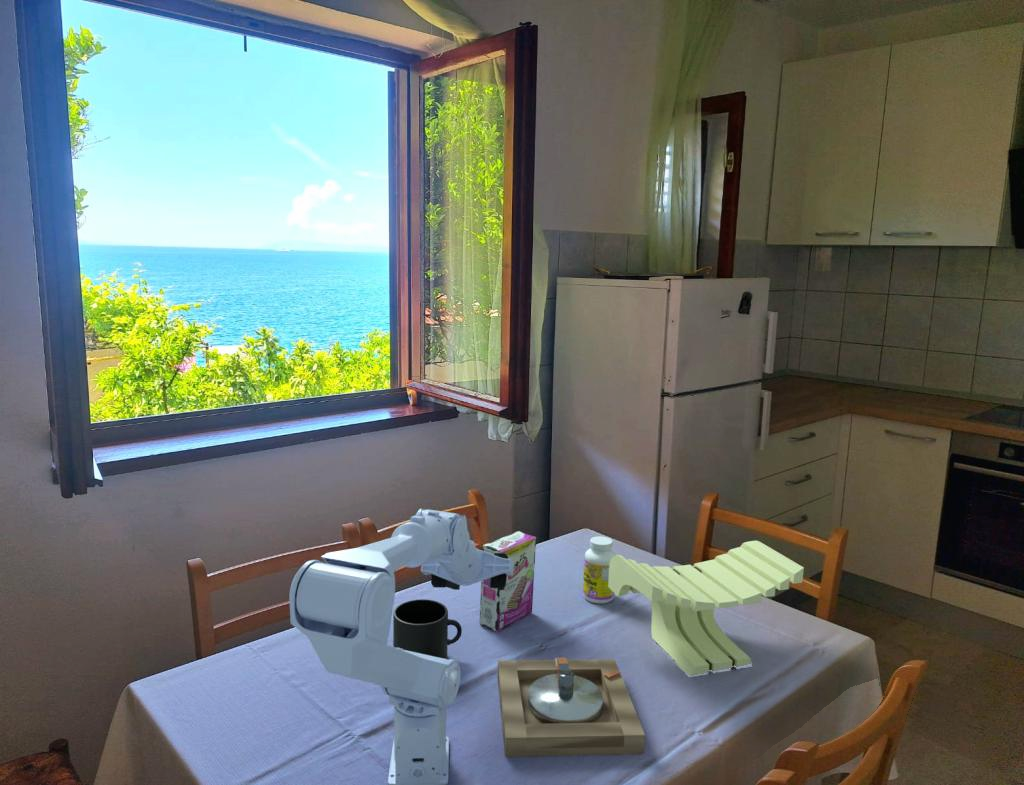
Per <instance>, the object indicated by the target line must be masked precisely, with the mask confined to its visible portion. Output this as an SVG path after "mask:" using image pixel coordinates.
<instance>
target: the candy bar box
mask: <svg viewBox="0 0 1024 785" xmlns="http://www.w3.org/2000/svg"><path fill="white" fill-rule="evenodd" d="M536 547H537V537H536V536H533V535H531V534H528V533H525V532H522V531H520V530H519V531H515V532H513V533H511V534H508V535H506V536H503V537H501V538H500V537H499V538H498V539H496V540H493V541H490V542H488V543H485V544H483V545H482V551H485V552H487V553H490V554H493V555H494V553H505V554H506V555H507V556H508V559H511V560H512V561H513V563H514V568H513V575H507V580H506V586H505V589H504V590H498V589H497V588H490V581H491V578H488V579H486V580H483V581H480V582H481V584H480V606H479V607H480V608H479V624H480V625H481V626H482V627H484V628H487V629H489V630H491V631H493V632H495V633H499V632H501V631H502V630H504V629H505V628H508V627H509V626H511V625H513V624H515V623H516V622H518V621H519V620H522V619H524V618H525V617H527V616H528V615H530V614H532V613H533V602H534V601H533V600H534V581H535V568H536V566H535V565H536V549H537V548H536Z"/></svg>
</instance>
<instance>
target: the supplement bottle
mask: <svg viewBox="0 0 1024 785" xmlns="http://www.w3.org/2000/svg"><path fill="white" fill-rule="evenodd" d="M613 542H614V541H613V539H612V538H610V537H607V536H593V537H591V538H590V540H589V546H590V548H589V549H587V550H586V551H585V553H584V564H583V566H584V567H583V581H582V596H583V598H584V599H585V600H587V601H588V602H590V603H593V604H599V605H600V604H602V605H603V604H607V603H610V602H612V601H613V600H614V598H615V593H614V592H613V591H612V590H611V589H610V588H609V587H608V579H609V565H610V561H611V558H612V557H613V556H614V555H617V554H616V553H615V552H614V551H613V550H612V549H613V547H614V546H613V545H614V544H613Z"/></svg>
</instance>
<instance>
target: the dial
mask: <svg viewBox="0 0 1024 785" xmlns="http://www.w3.org/2000/svg"><path fill="white" fill-rule="evenodd" d="M556 658H557V674H552V675H547V676H544V677H541V678H539V679H537V680H536V681H535V682H533V683H532V685H531V686H530V688H529V692H528V706H529V709H530V711H531V712H532V713H533V715H534V716H536V717H537V718H538V719H540V720H541V721H543V722H545V723H547V724H553V723H592V722H594V721H595V720H596V719H598V718H599V716H600V715H601V713H602V706H603V696H602V693H601V691H600V689H599V688H598V687H597V686H596V685H595V684H594V683H592V682H591V681H589V680H587V679H585V678H582V677H579V676H576V675H574V673H572V672H571V671H570V669H569V666H568V662H567V660H568V659H567V657H556Z"/></svg>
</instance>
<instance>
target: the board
mask: <svg viewBox="0 0 1024 785" xmlns="http://www.w3.org/2000/svg"><path fill="white" fill-rule="evenodd" d="M557 658H558V657H554V659H524V660H523V659H519V660H517V659H516V660H514V659H513V660H512V659H511V660H506V659H505V660H504V659H503V660H501V659H500V660H499V659H498V660H497V675H496V676H497V687H498V697H499V706H500V715H501V727H502V729H501V730H502V736H503V738H502V739H503V746H504V747H503V748H504V756H505V758H512V757H513V758H514V757H515V758H519V757H523V758H524V757H525V758H526V757H561V756H564V757H565V756H566V757H567V756H568V757H569V756H598V755H599V756H603V755H604V756H605V755H607V756H608V755H612V756H613V755H639V754H638V753H644V752H645V742H646V740H645V739H646V734H645V732H644V728H643V727H642V724H641V721H640V719H639V716H638V714H637V712H636V709H635V706H634V704H633V701H632V698H631V697H630V693H629V691H628V689H627V686H626V684H625V681H624V679H623V676H622V673H621V671H620V669H619V665H618V664H617V661H616V658H605V659H604V658H601V659H599V658H593V659H592V658H591V659H590V658H589V659H585V658H583V659H582V658H581V659H567V662H568V666H569V669H570V671H571V672H572V673H574V675H576V676H579V677H582V678H585V679H587V680H589V681H591V682H592V683H594V684H595V685H596V686H597V687H598V688H599V689H600V691H601V693H602V696H603V706H602V713H601V715H600V716H599V718H598V719H596V720H595V721H594V722H592V723H553V724H547V723H545V722H543V721H541V720H540V719H538V718H537V717H536V716H534V715H533V713H532V712H531V711H530V709H529V706H528V692H529V688H530V686H531V685H532V683H533V682H535V681H536V680H537V679H539V678H541V677H544V676H547V675H552V674H557Z"/></svg>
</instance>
